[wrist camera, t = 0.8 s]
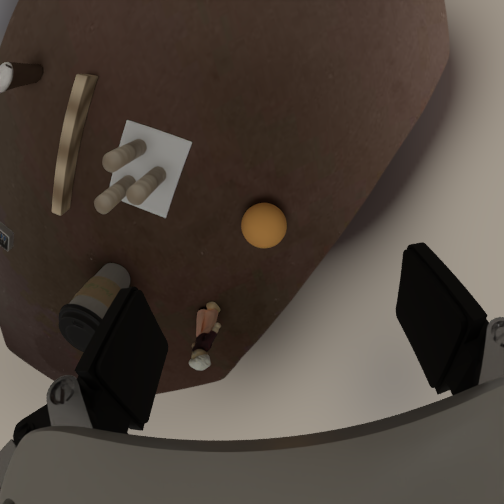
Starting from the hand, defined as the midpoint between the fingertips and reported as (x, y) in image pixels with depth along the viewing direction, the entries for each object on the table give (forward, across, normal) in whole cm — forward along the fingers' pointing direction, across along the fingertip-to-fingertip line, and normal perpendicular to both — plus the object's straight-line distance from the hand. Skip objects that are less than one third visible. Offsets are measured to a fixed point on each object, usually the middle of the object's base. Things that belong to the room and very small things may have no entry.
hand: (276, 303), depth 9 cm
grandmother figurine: (+31, +14, +26) cm, 43 cm away
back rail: (+30, +27, -9) cm, 41 cm away
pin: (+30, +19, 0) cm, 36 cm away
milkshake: (+29, +31, -24) cm, 49 cm away
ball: (+27, +1, +9) cm, 28 cm away
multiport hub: (+31, +56, -1) cm, 64 cm away
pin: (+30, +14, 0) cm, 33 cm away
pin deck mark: (+30, +16, -1) cm, 34 cm away
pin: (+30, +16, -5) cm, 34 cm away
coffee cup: (+31, +29, +15) cm, 45 cm away
